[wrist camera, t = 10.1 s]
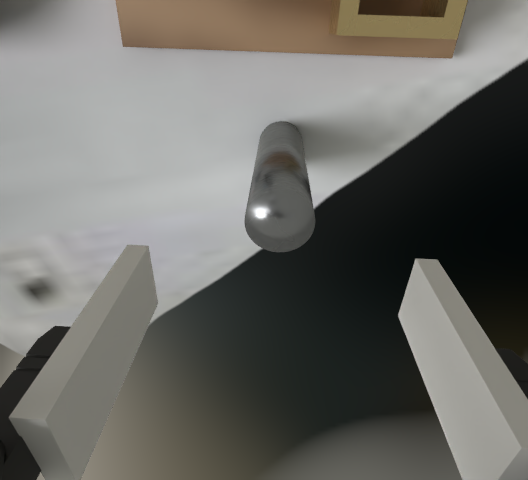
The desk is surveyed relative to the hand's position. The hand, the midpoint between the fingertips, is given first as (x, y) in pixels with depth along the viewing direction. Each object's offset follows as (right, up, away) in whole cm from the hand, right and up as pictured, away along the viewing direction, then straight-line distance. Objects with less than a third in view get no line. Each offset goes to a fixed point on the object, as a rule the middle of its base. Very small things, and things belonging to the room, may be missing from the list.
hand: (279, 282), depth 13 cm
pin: (+1, +9, +15) cm, 18 cm away
